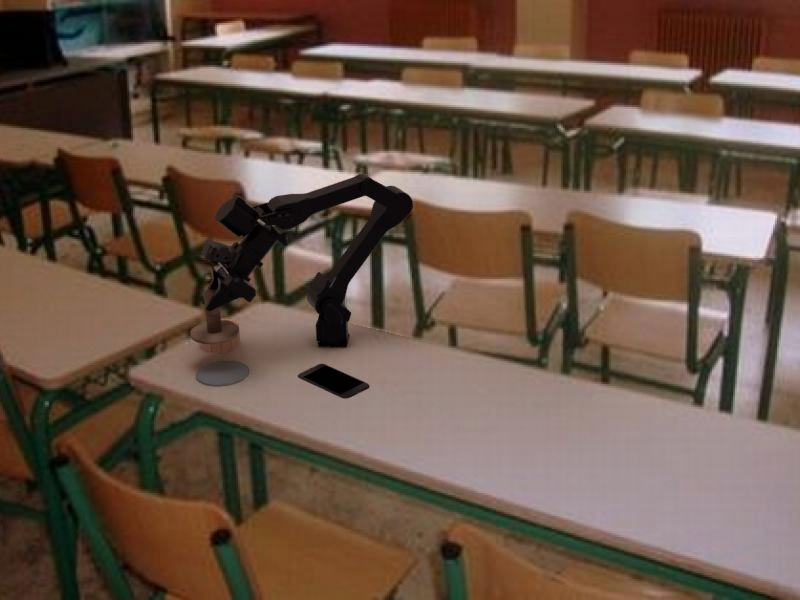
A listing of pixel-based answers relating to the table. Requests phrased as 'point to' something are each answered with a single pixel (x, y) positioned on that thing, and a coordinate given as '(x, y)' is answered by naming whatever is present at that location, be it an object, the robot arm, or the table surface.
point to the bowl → (223, 346)
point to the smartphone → (333, 381)
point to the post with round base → (213, 326)
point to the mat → (222, 373)
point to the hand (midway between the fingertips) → (205, 307)
